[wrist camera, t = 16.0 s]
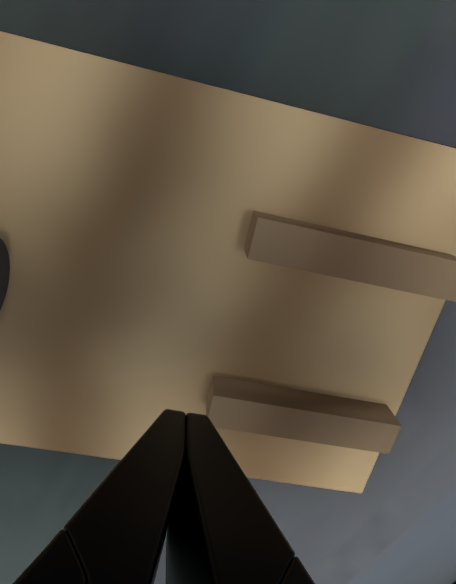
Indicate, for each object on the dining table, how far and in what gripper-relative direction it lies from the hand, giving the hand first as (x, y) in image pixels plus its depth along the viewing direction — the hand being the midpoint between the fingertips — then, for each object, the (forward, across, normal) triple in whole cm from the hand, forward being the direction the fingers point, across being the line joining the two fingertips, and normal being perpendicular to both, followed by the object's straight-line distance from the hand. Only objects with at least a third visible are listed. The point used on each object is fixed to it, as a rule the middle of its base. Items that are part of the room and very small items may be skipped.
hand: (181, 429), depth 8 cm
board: (+7, +3, 0) cm, 7 cm away
